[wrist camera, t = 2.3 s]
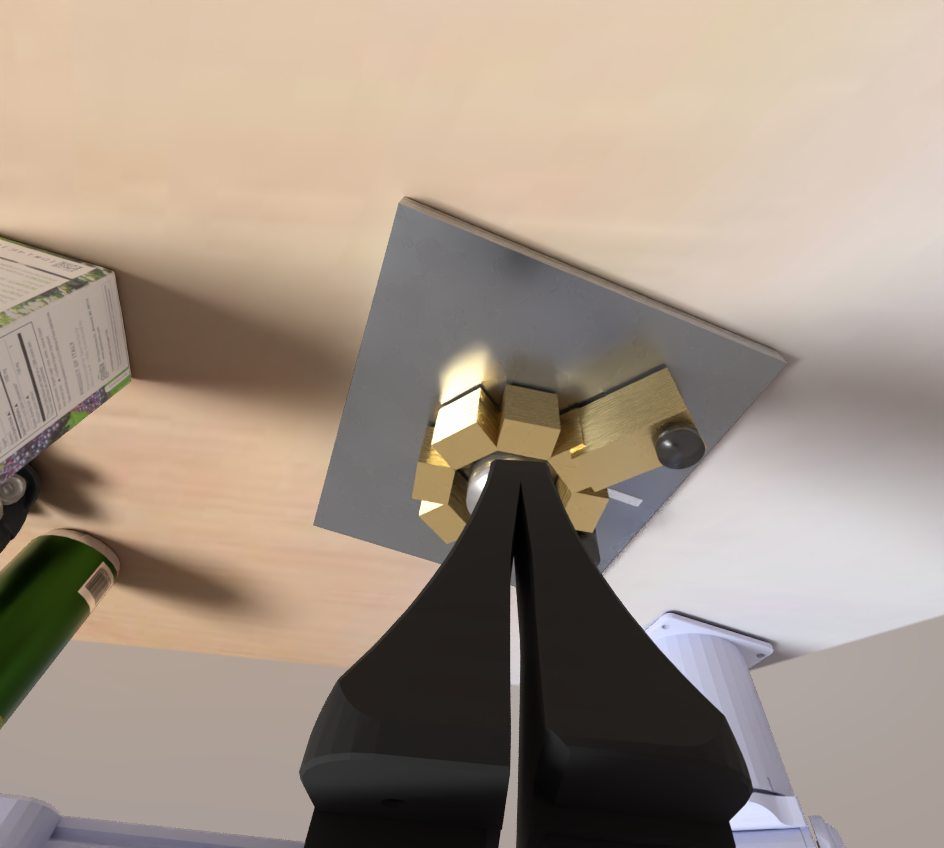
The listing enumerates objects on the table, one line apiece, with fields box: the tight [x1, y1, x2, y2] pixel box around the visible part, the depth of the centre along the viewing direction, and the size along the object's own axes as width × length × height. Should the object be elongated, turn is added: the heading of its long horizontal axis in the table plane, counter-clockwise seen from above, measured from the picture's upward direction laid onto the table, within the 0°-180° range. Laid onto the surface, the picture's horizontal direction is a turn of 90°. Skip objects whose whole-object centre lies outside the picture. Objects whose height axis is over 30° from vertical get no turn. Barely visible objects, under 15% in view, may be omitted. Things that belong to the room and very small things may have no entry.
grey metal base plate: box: [313, 197, 788, 587], centre depth 23 cm, size 18×16×4 cm
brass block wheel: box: [412, 367, 707, 544], centre depth 21 cm, size 12×8×4 cm
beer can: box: [0, 529, 120, 729], centre depth 28 cm, size 5×5×12 cm
